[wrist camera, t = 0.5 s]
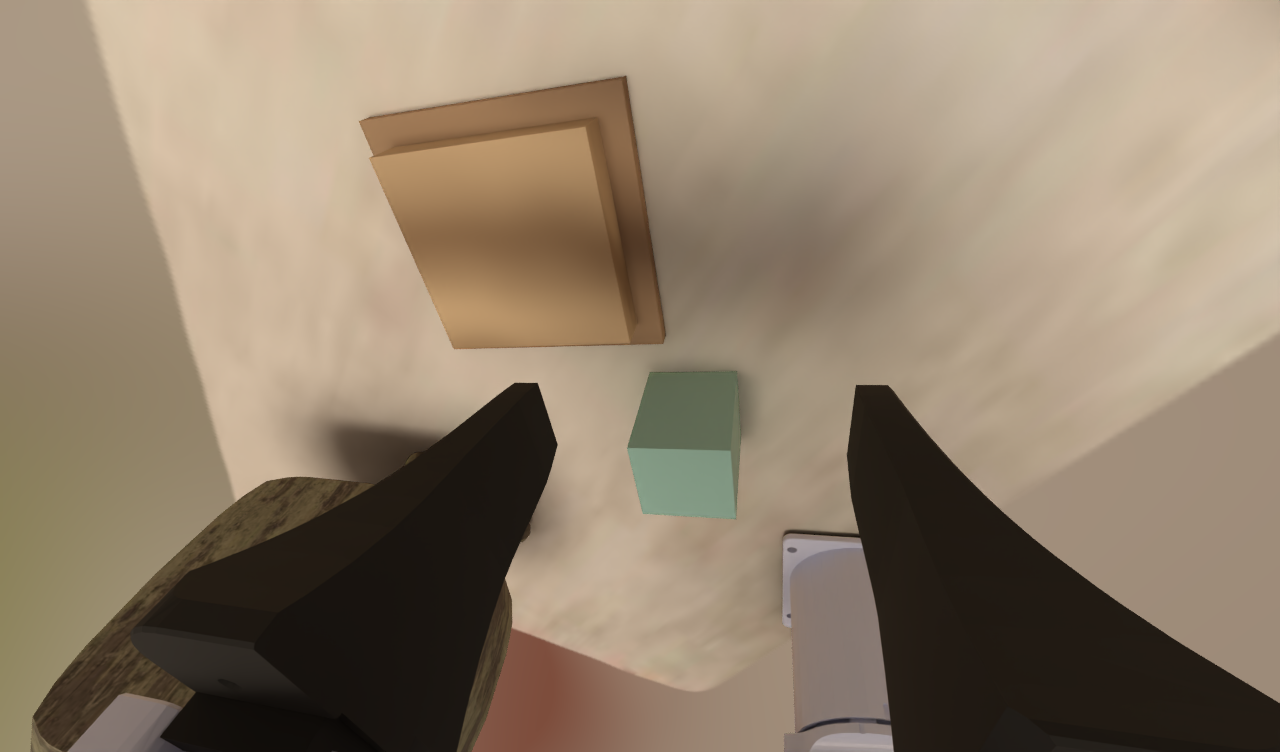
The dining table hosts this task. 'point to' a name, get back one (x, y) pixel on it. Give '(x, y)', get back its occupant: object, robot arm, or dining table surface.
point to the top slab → (515, 235)
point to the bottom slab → (550, 108)
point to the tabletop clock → (243, 525)
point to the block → (688, 444)
